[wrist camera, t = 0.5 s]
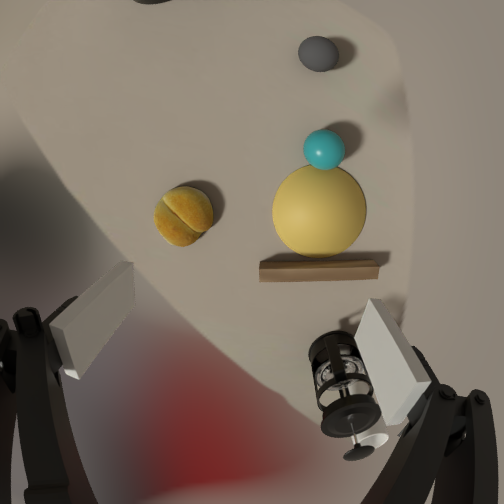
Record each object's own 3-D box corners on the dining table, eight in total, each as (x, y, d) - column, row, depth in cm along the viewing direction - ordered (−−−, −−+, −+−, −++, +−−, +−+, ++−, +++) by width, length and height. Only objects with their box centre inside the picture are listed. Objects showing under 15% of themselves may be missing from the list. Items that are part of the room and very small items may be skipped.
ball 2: (300, 130, 35) (305, 126, 30) (338, 132, 35) (349, 128, 30) (301, 168, 37) (306, 170, 32) (339, 169, 37) (350, 171, 31)
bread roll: (225, 213, 40) (220, 219, 36) (184, 251, 42) (176, 260, 39) (187, 172, 38) (178, 174, 35) (148, 213, 41) (138, 218, 37)
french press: (360, 361, 48) (393, 458, 26) (315, 376, 49) (330, 477, 28) (351, 316, 44) (394, 421, 23) (299, 333, 46) (314, 446, 24)
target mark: (271, 163, 37) (271, 163, 37) (366, 166, 36) (367, 166, 36) (273, 258, 42) (273, 258, 41) (361, 256, 41) (362, 257, 40)
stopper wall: (259, 261, 42) (259, 269, 39) (372, 259, 41) (379, 266, 38) (260, 273, 43) (259, 282, 40) (371, 271, 41) (377, 279, 38)
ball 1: (295, 44, 31) (298, 28, 25) (332, 46, 30) (340, 32, 25) (297, 75, 32) (302, 63, 27) (335, 77, 32) (345, 66, 27)
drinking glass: (334, 391, 51) (346, 448, 37) (358, 373, 49) (377, 429, 35) (353, 401, 52) (367, 454, 38) (376, 384, 50) (395, 436, 36)
